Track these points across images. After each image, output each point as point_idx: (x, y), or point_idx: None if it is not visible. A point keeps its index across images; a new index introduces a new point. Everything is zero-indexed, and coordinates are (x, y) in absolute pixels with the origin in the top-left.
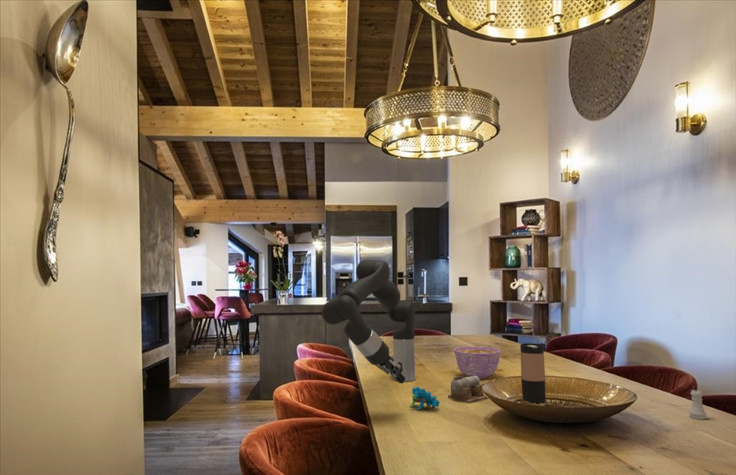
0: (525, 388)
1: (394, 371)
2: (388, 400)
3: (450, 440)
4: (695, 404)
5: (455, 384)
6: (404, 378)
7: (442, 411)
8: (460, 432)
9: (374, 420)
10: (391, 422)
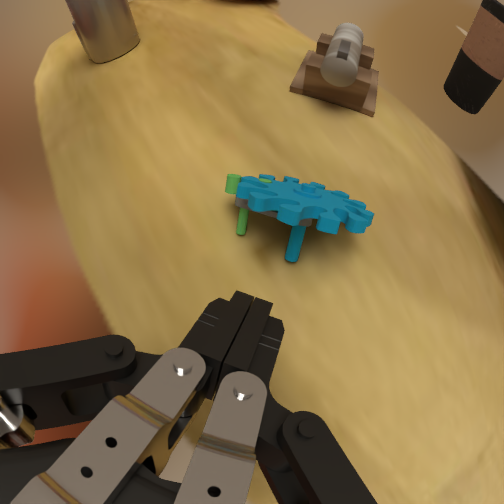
0: (478, 84)
1: (199, 399)
2: (124, 200)
3: (480, 446)
4: None
5: (342, 71)
6: (281, 331)
7: None
8: (486, 382)
9: None
10: None
